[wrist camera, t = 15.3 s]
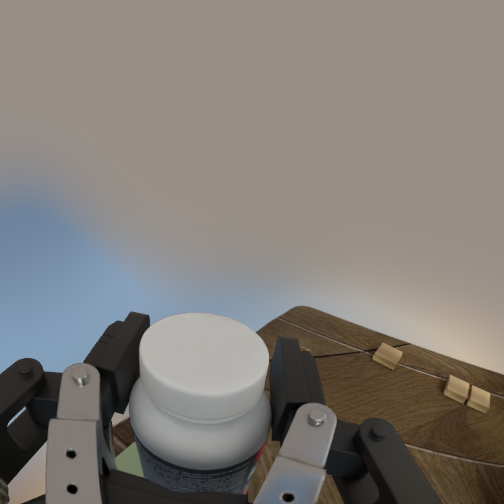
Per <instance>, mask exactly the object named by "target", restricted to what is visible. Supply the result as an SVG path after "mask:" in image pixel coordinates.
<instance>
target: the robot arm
mask: <svg viewBox="0 0 504 504" xmlns="http://www.w3.org/2000/svg"><path fill="white" fill-rule="evenodd" d="M149 327H150V318H149V315H146V314H141V313H136V312H130V313H129V315H128V316H127V318H126V319H125V321H124V322H122V321H116V322H115V323H113V324H111V325H110V326H108V328H107V329H106V331H105V332H104V333H103V335H102V336H101V337H100V339H99V341H98V342H97V343H96V344H95V346H94V347H93V349H92V350H91V352H90V353H89V354H88V356H87V357H86V359H85V360H84V362H83V363H77V364H73V365H71V366H69V367H67V369H65V371H64V372H63V373H56V372H45V371H44V370H43V367H42V365H41V364H40V362H38V361H37V360H35V359H31V358H24V359H20V360H18V361H17V362H15V363H14V364H13V365H11V366H10V367H9V368H7V369H6V370H5V371H4V372H2V373H1V374H0V504H7V503H8V502H9V496H8V486H7V485H8V484H9V483H10V482H11V480H12V479H13V478H14V477H15V476H16V475H17V474H18V472H19V471H20V470H21V469H22V468H23V467H24V466H25V464H26V463H27V462H28V461H29V460H30V459H31V458H32V457H33V456H34V454H35V453H36V452H37V451H38V450H39V449H40V448H41V447H42V446H43V444H44V443H45V442H46V441H47V454H46V494H44V495H41V496H39V497H37V498H34V499H32V500H30V501H27V502H24V503H22V504H316V503H317V501H318V498H319V495H320V492H321V489H322V486H323V483H324V480H325V476H326V474H330V475H332V477H333V479H334V481H335V484H336V486H337V488H338V490H339V492H340V495H341V497H342V499H343V501H344V504H443V503H442V502H441V500H440V499H439V497H438V495H437V494H436V492H435V491H434V489H433V488H432V486H431V484H430V483H429V481H428V480H427V478H426V477H425V475H424V473H423V472H422V470H421V469H420V467H419V466H418V464H417V462H416V461H415V459H414V458H413V456H412V455H411V453H410V452H409V450H408V449H407V447H406V445H405V444H404V442H403V441H402V439H401V438H400V436H399V435H398V433H397V432H396V430H395V429H394V427H393V426H392V425H391V424H390V423H389V422H387V421H385V420H383V419H380V418H370V419H367V420H365V421H364V422H363V423H362V424H361V425H356V424H352V423H347V422H344V421H341V420H339V419H337V418H336V415H335V413H334V412H333V411H332V410H331V409H330V408H329V407H327V406H326V403H325V399H324V395H323V390H322V386H321V382H320V378H319V373H318V371H317V365H316V361H315V359H314V358H313V356H312V355H311V354H310V353H309V352H308V351H300V348H299V343H298V339H297V338H291V337H282V336H279V337H278V340H277V344H276V347H275V351H274V355H273V359H272V363H271V367H270V377H269V379H270V403H271V410H272V423H271V427H272V441H280V447H281V448H280V451H279V453H278V455H277V457H276V459H275V461H274V463H273V465H272V467H271V469H270V471H269V473H268V475H267V477H266V479H265V481H264V483H263V485H262V487H261V489H260V491H259V493H258V495H257V497H256V499H255V501H254V502H253V503H249V502H248V495H246V494H234V493H224V492H216V491H208V492H185V493H178V492H174V491H171V490H169V489H167V488H164V487H162V486H160V485H158V484H156V483H154V482H152V481H150V480H148V479H146V478H144V477H140V476H137V475H133V474H130V473H126V472H123V471H120V470H117V467H116V462H115V453H114V442H113V429H112V421H111V418H112V416H113V414H114V412H117V413H120V414H124V412H125V410H126V407H127V405H128V403H129V398H130V394H131V390H132V388H133V386H134V384H135V382H136V381H137V379H138V378H139V377H140V361H139V348H140V342H141V339H142V336H143V334H144V333H145V331H146V330H147V329H148V328H149ZM24 407H25V408H26V410H25V411H24V412H23V413H21V415H19V416H18V417H17V418H16V419H15V420H14V421H13V422H12V423H11V424H10V425H9V426H8V427H7V425H8V423H9V421H10V420H11V419H12V418H13V417H14V416H15V415H16V414H17V413H18V412H19V411H20V410H22V409H23V408H24Z"/></svg>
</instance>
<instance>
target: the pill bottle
mask: <svg viewBox="0 0 504 504" xmlns="http://www.w3.org/2000/svg"><path fill="white" fill-rule="evenodd" d="M139 361H140V377H139V378H138V379H137V381H136V382H135V384H134V386H133V388H132V390H131V394H130V398H129V414H130V421H131V427H132V431H133V435H134V439H135V442H136V446H137V450H138V454H139V458H140V462H141V466H142V470H143V474H144V478H146V479H148V480H150V481H152V482H154V483H156V484H158V485H160V486H162V487H164V488H167V489H169V490H171V491H174V492H178V493H185V492H208V491H216V492H224V493H234V494H245V493H246V491H247V489H248V486H249V484H250V481H251V479H252V476H253V474H254V471H255V469H256V466H257V464H258V461H259V458H260V456H261V454H262V451H263V449H264V446H265V444H266V441H267V439H268V435H269V432H270V428H271V423H272V410H271V405H270V401H269V399H268V397H267V394H266V393H265V391H264V385H265V379H266V375H267V370H268V365H269V354H268V349H267V347H266V345H265V344H264V342H263V340H262V339H261V338H260V337H259V336H258V335H257V334H256V333H255V332H254V331H253V330H251V329H250V328H249V327H247V326H245V325H243V324H242V323H240V322H237V321H235V320H233V319H230V318H227V317H223V316H220V315H215V314H208V313H183V314H177V315H173V316H169V317H166V318H164V319H161V320H159V321H158V322H156V323H154V324H153V325H151V326H150V327H149V328H148V329H147V330H146V331H145V333H144V334H143V336H142V339H141V342H140V348H139Z"/></svg>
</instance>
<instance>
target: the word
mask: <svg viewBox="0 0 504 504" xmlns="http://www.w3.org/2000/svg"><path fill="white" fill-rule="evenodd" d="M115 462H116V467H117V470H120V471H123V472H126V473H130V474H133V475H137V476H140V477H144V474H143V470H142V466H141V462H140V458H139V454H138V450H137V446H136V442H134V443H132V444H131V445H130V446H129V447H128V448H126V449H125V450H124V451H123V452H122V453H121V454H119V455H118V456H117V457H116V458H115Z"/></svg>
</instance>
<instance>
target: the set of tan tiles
mask: <svg viewBox="0 0 504 504" xmlns="http://www.w3.org/2000/svg"><path fill="white" fill-rule="evenodd" d="M402 354H403V352H401V351H399V350H397V349H395V348H393V347H391V346H389V345H387V344H385V343H382V344H381V345H380V347H379V348H378V349H377V351H376V352H375V353H374V356H373V358H372V359H373V360H374V361H376V362H378V363H380V364H382V365H384V366H386V367H388V368H390V369H392V370H394V369H395V367H396V365H397V363H398V362H399V360H400V358H401V356H402ZM468 390H469V383H467V382H465V381H462V380H460V379H458V378H456V377H454V376H452V375H450V376H449V378H448V379H447V382H446V386H445V389H444V393H443V395H445V396H448V397H450V398H452V399H454V400H456V401H458V402H460V403H464V402H465V400H466V399H467V396H468V399H467V406H469V407H472V408H474V409H476V410H478V411H481V412H483V413H486V412H487V410H488V409H489V406H490V393H488V392H486V391H484V390H482V389H479V388H477V387H475V386H472V387H471V388H470V390H469V393H468Z"/></svg>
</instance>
